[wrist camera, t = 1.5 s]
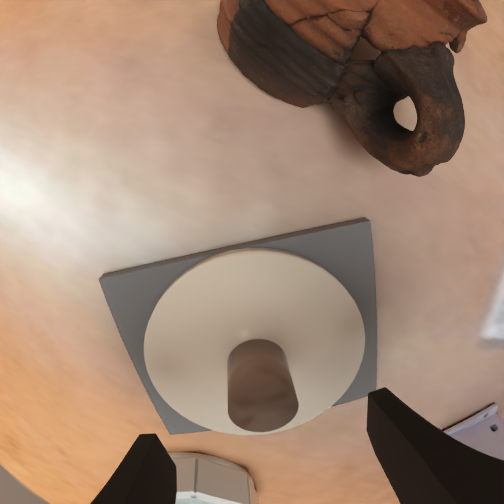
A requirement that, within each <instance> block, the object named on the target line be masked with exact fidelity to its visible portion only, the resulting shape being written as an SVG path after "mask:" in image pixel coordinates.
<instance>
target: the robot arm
mask: <svg viewBox="0 0 504 504" xmlns="http://www.w3.org/2000/svg"><path fill="white" fill-rule="evenodd" d="M497 409H498V406H497V405H496V404H493V405H492V406H490V407H488V408H486V409H485V410H483V411H481V412H479V413H478V414H476V415H474V416H472V417H470V418H468V419H467V420H465V421H463V422H461V423H459V424H457V425H455V426H453V427H451V428H449V429H447V430H445V431H441V430H440V429H438V428H437V427H435V426H434V425H432V424H431V423H430V422H428V421H427V420H426V419H424V418H423V417H421V416H420V415H419V414H417V413H416V412H415V411H413V410H412V409H411V408H410V407H408V406H407V405H406V404H405V403H404V402H402V401H401V400H400V399H399V398H398V397H396V396H395V395H394V394H393V393H392V392H391V391H389V390H388V389H387V388H385V387H384V388H381V389H378V390H375V391H372V392H369V393H368V412H367V432H368V435H369V438H370V441H371V444H372V446H373V449H374V452H375V454H376V456H377V458H378V460H379V462H380V464H381V466H382V468H383V470H384V472H385V474H386V476H387V478H388V479H389V481H390V483H391V485H392V487H393V489H394V491H395V493H396V495H397V497H398V499H399V501H400V503H401V504H504V421H503V420H502V419H501V418H500V417H499V416H498V414H497V413H496V412H497ZM176 494H177V469H176V465H175V463H174V462H173V460H172V459H171V457H170V455H169V454H168V452H167V451H166V449H165V448H164V446H163V445H162V443H161V441H160V440H159V438H158V437H157V435H156V433H155V434H140V435H139V436H138V438H137V439H136V441H135V442H134V444H133V445H132V447H131V448H130V450H129V451H128V453H127V454H126V456H125V457H124V459H123V460H122V462H121V463H120V465H119V466H118V468H117V469H116V471H115V472H114V474H113V475H112V476H111V478H110V479H109V481H108V482H107V483H106V485H105V486H104V487H103V489H102V490H101V491H100V492H99V494H98V495H97V496H96V498H95V499H94V500H93V501H92V502H91V504H175V503H176Z"/></svg>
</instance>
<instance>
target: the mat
mask: <svg viewBox="0 0 504 504" xmlns="http://www.w3.org/2000/svg"><path fill="white" fill-rule="evenodd" d="M259 247H264V248H274V249H281V250H285V251H289V252H294V253H296V254H299V255H302V256H304V257H307V258H309V259H311V260H313V261H314V262H316V263H318V264H320V265H321V266H323V267H324V268H325V269H327V270H328V271H329V272H330V273H332V274H333V275H334V276H335V277H336V278H337V279H338V281H339V282H340V283H341V284H342V285H343V286H344V287H345V289H346V290H347V291H348V292H349V294H350V295H351V297H352V298H353V300H354V301H355V303H356V305H357V307H358V309H359V311H360V313H361V317H362V320H363V324H364V331H365V349H364V354H363V359H362V362H361V365H360V368H359V370H358V372H357V374H356V376H355V378H354V380H353V382H352V383H351V385H350V386H349V388H348V389H347V390H346V392H345V393H344V394H343V395H342V396H341V397H340V399H339V400H338V401H336V402H335V403H334V404H333V405H332V406H336V405H339V404H343V403H346V402H350V401H353V400H356V399H359V398H363V397H366V396H368V393H369V392H372V391H375V390H376V378H377V314H376V288H375V270H374V256H373V244H372V233H371V223H370V220H368V219H366V218H361V219H356V220H352V221H347V222H342V223H337V224H332V225H328V226H323V227H318V228H313V229H308V230H304V231H299V232H294V233H290V234H285V235H280V236H275V237H271V238H266V239H261V240H257V241H252V242H248V243H243V244H238V245H234V246H229V247H224V248H220V249H215V250H211V251H206V252H201V253H197V254H192V255H188V256H183V257H179V258H174V259H170V260H165V261H161V262H156V263H152V264H147V265H143V266H138V267H134V268H129V269H125V270H121V271H116V272H112V273H107V274H103V275H102V276H101V277H100V278H99V281H100V284H101V287H102V290H103V292H104V295H105V298H106V300H107V303H108V305H109V308H110V311H111V313H112V316H113V318H114V321H115V323H116V325H117V328H118V330H119V333H120V335H121V337H122V340H123V342H124V344H125V346H126V349H127V351H128V353H129V355H130V358H131V360H132V362H133V364H134V366H135V368H136V370H137V373H138V375H139V377H140V379H141V381H142V383H143V385H144V387H145V389H146V391H147V393H148V395H149V397H150V399H151V401H152V403H153V404H154V406H155V408H156V410H157V412H158V414H159V416H160V418H161V419H162V421H163V423H164V425H165V427H166V428H167V430H168V432H169V434H170V435H172V434H184V433H194V432H203V431H211V429H208V428H205V427H202V426H200V425H198V424H196V423H194V422H192V421H190V420H188V419H187V418H185V417H183V416H182V415H180V414H179V413H178V412H176V411H175V410H174V409H173V408H171V407H170V406H169V405H168V404H167V403H166V402H165V401H164V399H163V398H162V397H161V396H160V394H159V393H158V392H157V390H156V389H155V387H154V385H153V383H152V381H151V379H150V377H149V374H148V372H147V369H146V364H145V359H144V338H145V332H146V329H147V325H148V322H149V319H150V317H151V315H152V313H153V310H154V308H155V306H156V304H157V302H158V300H159V298H160V297H161V295H162V294H163V293H164V291H165V290H166V288H167V287H168V286H169V285H170V284H171V283H172V282H173V281H174V280H175V279H176V278H177V277H178V276H179V275H180V274H182V273H183V272H184V271H185V270H187V269H188V268H190V267H191V266H193V265H195V264H196V263H198V262H200V261H202V260H204V259H206V258H209V257H211V256H213V255H216V254H219V253H223V252H226V251H230V250H236V249H242V248H259ZM332 406H331V407H332Z"/></svg>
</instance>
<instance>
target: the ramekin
mask: <svg viewBox="0 0 504 504" xmlns="http://www.w3.org/2000/svg"><path fill="white" fill-rule="evenodd" d="M168 454H169V455H170V457H171V459H172V460H173V462H174V463H175V465H176V469H177V494H176V503H175V504H259V499H258V494H257V492H256V490H255V488H254V481H253V478H252V477H251V475H250V474H249V473H248V472H247V471H246V470H245V469H243V468H242V467H240V466H239V465H237V464H235V463H233V462H231V461H228V460H225V459H222V458H219V457H216V456H211V455H207V454H200V453H192V452H168Z"/></svg>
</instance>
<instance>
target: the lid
mask: <svg viewBox="0 0 504 504" xmlns="http://www.w3.org/2000/svg"><path fill="white" fill-rule="evenodd" d="M364 349H365V331H364V324H363V320H362V317H361V313H360V311H359V309H358V307H357V305H356V303H355V301H354V300H353V298H352V297H351V295H350V294H349V292H348V291H347V290H346V289H345V287H344V286H343V285H342V284H341V283H340V282H339V281H338V279H337V278H336V277H335V276H334V275H333V274H332V273H330V272H329V271H328V270H327V269H325V268H324V267H323V266H321V265H320V264H318V263H316V262H314V261H313V260H311V259H309V258H307V257H304V256H302V255H299V254H296V253H294V252H289V251H285V250H281V249H274V248H264V247H259V248H242V249H236V250H230V251H226V252H223V253H219V254H216V255H213V256H211V257H209V258H206V259H204V260H202V261H200V262H198V263H196V264H195V265H193V266H191V267H190V268H188V269H187V270H185V271H184V272H183V273H182V274H180V275H179V276H178V277H177V278H176V279H175V280H174V281H173V282H172V283H171V284H170V285H169V286H168V287H167V288H166V290H165V291H164V293H163V294H162V295H161V297H160V298H159V300H158V302H157V304H156V306H155V308H154V310H153V313H152V315H151V317H150V319H149V322H148V325H147V329H146V332H145V338H144V359H145V364H146V369H147V372H148V374H149V377H150V379H151V381H152V383H153V385H154V387H155V389H156V390H157V392H158V393H159V394H160V396H161V397H162V398H163V399H164V401H165V402H166V403H167V404H168V405H169V406H170V407H171V408H173V409H174V410H175V411H176V412H178V413H179V414H180V415H182V416H183V417H185V418H187V419H188V420H190V421H192V422H194V423H196V424H198V425H200V426H202V427H205V428H208V429H211V430H214V431H218V432H222V433H227V434H235V435H264V434H271V433H276V432H281V431H285V430H288V429H291V428H294V427H297V426H299V425H302V424H304V423H306V422H308V421H310V420H312V419H313V418H315V417H317V416H319V415H320V414H322V413H323V412H324V411H326V410H327V409H328V408H330V407H331V406H332V405H333V404H334V403H335V402H336V401H338V400H339V399H340V397H341V396H342V395H343V394H344V393H345V392H346V390H347V389H348V388H349V386H350V385H351V383H352V382H353V380H354V378H355V376H356V374H357V372H358V370H359V368H360V365H361V362H362V359H363V354H364Z"/></svg>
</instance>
